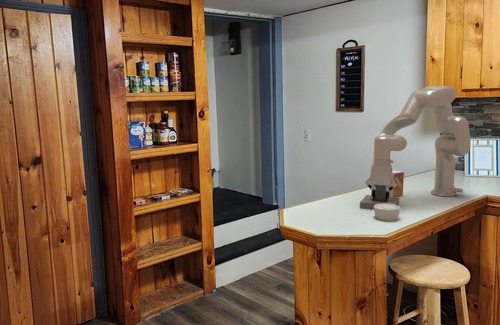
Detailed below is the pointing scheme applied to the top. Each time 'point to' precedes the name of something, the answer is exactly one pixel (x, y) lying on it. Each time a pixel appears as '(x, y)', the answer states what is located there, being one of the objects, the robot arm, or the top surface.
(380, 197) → the plug
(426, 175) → the top surface
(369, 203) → the socket block
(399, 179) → the small box
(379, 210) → the ramekin
